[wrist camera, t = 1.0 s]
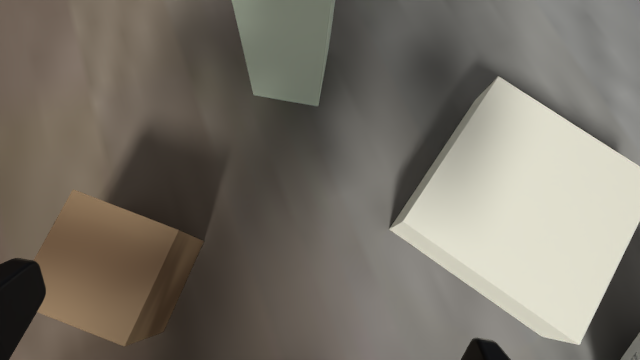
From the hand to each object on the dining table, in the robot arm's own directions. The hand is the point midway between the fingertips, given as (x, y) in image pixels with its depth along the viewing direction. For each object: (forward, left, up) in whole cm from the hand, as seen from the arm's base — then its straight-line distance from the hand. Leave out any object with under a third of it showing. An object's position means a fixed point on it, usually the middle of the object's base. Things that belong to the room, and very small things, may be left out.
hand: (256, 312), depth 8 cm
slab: (+13, -6, -14) cm, 20 cm away
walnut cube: (-4, +6, -14) cm, 16 cm away
